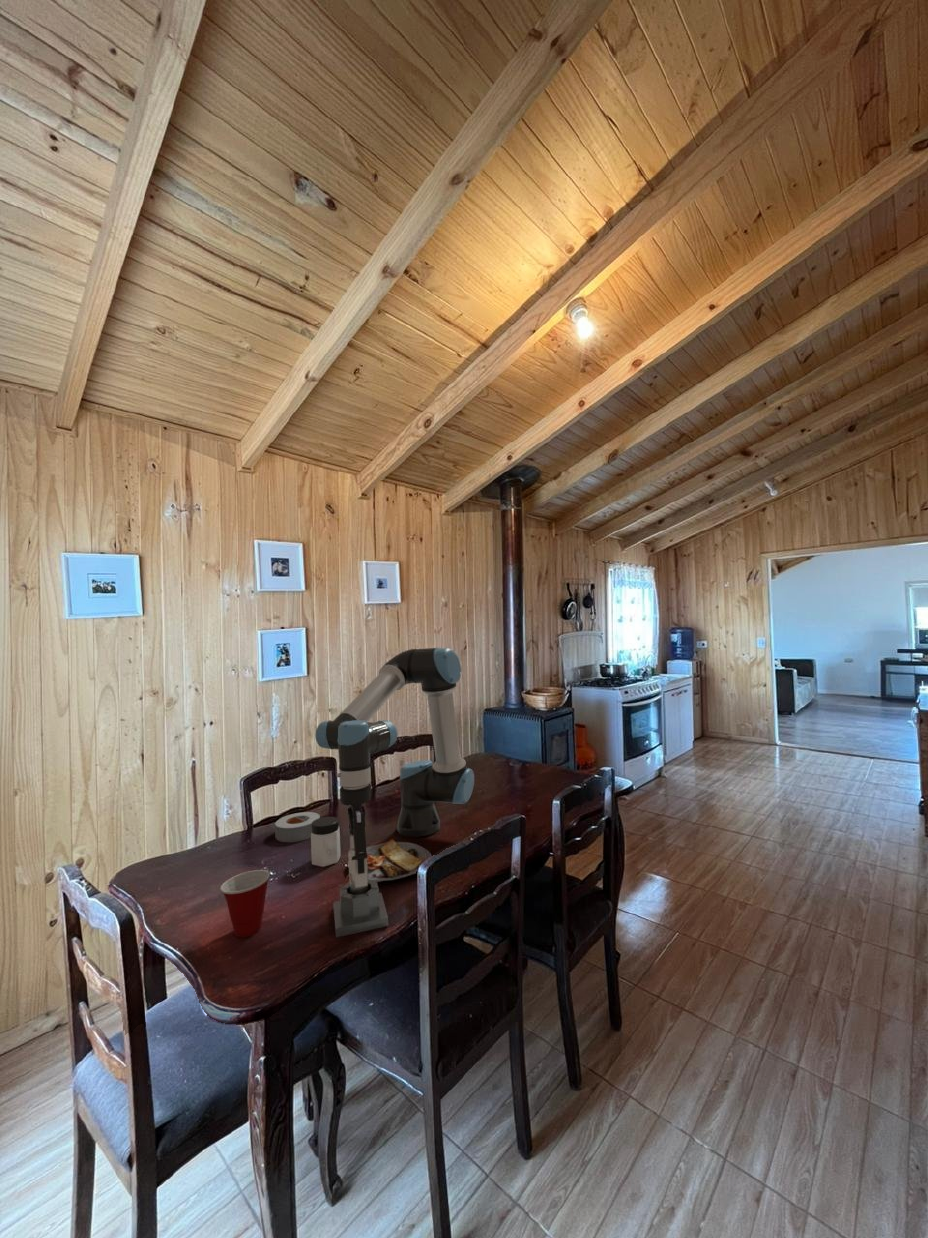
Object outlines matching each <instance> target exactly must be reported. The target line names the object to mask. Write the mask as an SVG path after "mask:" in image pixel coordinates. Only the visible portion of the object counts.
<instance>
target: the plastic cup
mask: <svg viewBox="0 0 928 1238" xmlns="http://www.w3.org/2000/svg"><path fill="white" fill-rule="evenodd" d="M270 875H271V874H270V871H268V870H265V869H256V870H255V869H254V870H249V871H245V872H242V873H238V874H237V875H235V876H232V877H230V878H229V879H227V880H226V881H224V882H223V884H221V886H220V892H222V893H223V895H224V898H225V901H226V903H227V908H228V914H229V917H230V922H231V925H232V929H233V933H234V935H235V936H236V937H237V938H248V937H250V936H253V935H255V934H256V933H258V932H259V931H260V929H261V927H262V922H263V917H264V910H265V905H266V904H265V901H266V895H267V890H268V889H267V887H268V883H269V878H270V877H271V876H270Z"/></svg>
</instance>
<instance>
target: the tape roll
mask: <svg viewBox="0 0 928 1238" xmlns="http://www.w3.org/2000/svg"><path fill="white" fill-rule="evenodd" d="M319 818H321V817H320V814H319V813H317V812H312V811H304V812H296V813H291V814H287V815H285V816H282V817H280V818H279V819H278V820H276V822H275V823H274V833H275V834H274V835H275V836H274V837H275V839H276V840H277V841H278V842H282V843H296V842H300V841H301V842H302V841H305V840H306V841H307V840H308V839H311V833H312V822H313V821H314V820H316V819H319Z"/></svg>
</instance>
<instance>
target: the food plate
mask: <svg viewBox="0 0 928 1238" xmlns="http://www.w3.org/2000/svg"><path fill="white" fill-rule="evenodd" d="M366 849H367V871H368V879H369V880H373V881H377V883H381V882H383V881H384V882H385V881H387V882H388V881H395V880H399V879H403V878H405V877H408V876H413V875H415V874H417V873H416V871H417V867H418V866H419V865H420V864H421V863H422V862H423V861H424V860H426V859H427V858H429V857H430V856H431V857H432V853H431V852H430V851H429V850H428V849H426V848H425V847H423V846H421V845H419V844H417V843H413V842H409V841H407V842H406V841H395V839H394V838H391V839H389V841H386V842H382V843H377V844H373V845H369V846H366ZM347 868H349V860H348V861H347ZM402 872H405V873H404V874H401V873H402ZM373 875H375V876H376V877H374V876H373ZM382 876H384V877H382ZM385 876H387V877H386V878H385Z"/></svg>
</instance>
